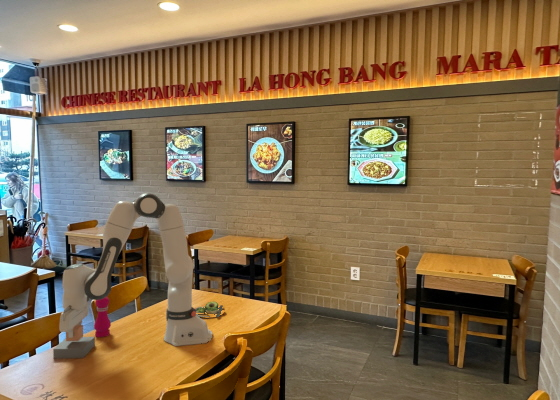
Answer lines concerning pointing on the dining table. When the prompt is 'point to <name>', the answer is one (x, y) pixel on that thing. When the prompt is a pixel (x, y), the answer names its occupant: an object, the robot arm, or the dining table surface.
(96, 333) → the pepper mill
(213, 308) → the salad plate
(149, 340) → the dining table surface
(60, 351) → the grey square slab
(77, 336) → the terracotta block
